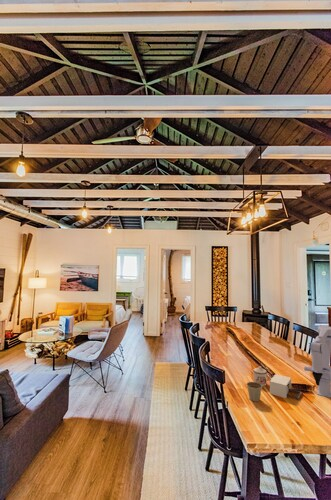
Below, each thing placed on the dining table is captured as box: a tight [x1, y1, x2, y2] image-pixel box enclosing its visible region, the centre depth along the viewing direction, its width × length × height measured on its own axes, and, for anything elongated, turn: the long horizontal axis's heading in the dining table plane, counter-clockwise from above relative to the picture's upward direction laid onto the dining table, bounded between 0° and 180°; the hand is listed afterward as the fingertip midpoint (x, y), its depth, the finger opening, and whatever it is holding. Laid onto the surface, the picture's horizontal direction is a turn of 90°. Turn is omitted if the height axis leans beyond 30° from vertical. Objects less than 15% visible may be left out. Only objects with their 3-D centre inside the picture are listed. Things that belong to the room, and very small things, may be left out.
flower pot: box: [246, 381, 263, 402], centre depth 164 cm, size 9×9×9 cm
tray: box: [287, 388, 303, 401], centre depth 171 cm, size 10×14×2 cm
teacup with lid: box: [252, 365, 272, 387], centre depth 186 cm, size 12×9×12 cm
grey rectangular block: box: [269, 373, 292, 399], centre depth 174 cm, size 15×10×8 cm
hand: (317, 384), depth 163 cm, fingers closed
